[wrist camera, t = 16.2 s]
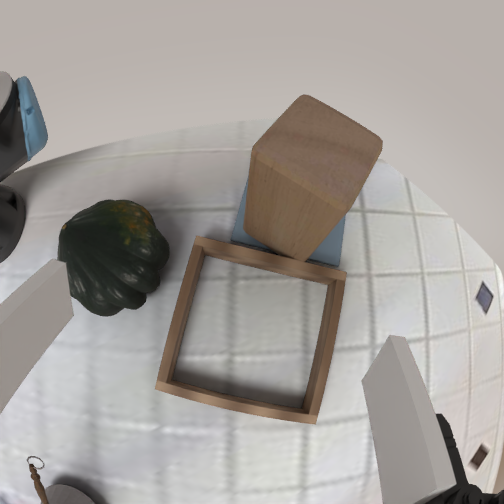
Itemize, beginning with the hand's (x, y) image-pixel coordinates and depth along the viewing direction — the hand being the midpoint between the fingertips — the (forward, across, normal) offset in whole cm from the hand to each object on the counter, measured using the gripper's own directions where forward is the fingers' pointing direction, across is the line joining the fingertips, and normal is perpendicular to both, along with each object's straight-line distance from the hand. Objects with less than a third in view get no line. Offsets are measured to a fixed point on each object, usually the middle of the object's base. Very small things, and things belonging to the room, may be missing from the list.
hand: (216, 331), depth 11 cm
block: (+34, +5, -7) cm, 35 cm away
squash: (+26, -17, -16) cm, 35 cm away
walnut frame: (+23, +3, -20) cm, 30 cm away
